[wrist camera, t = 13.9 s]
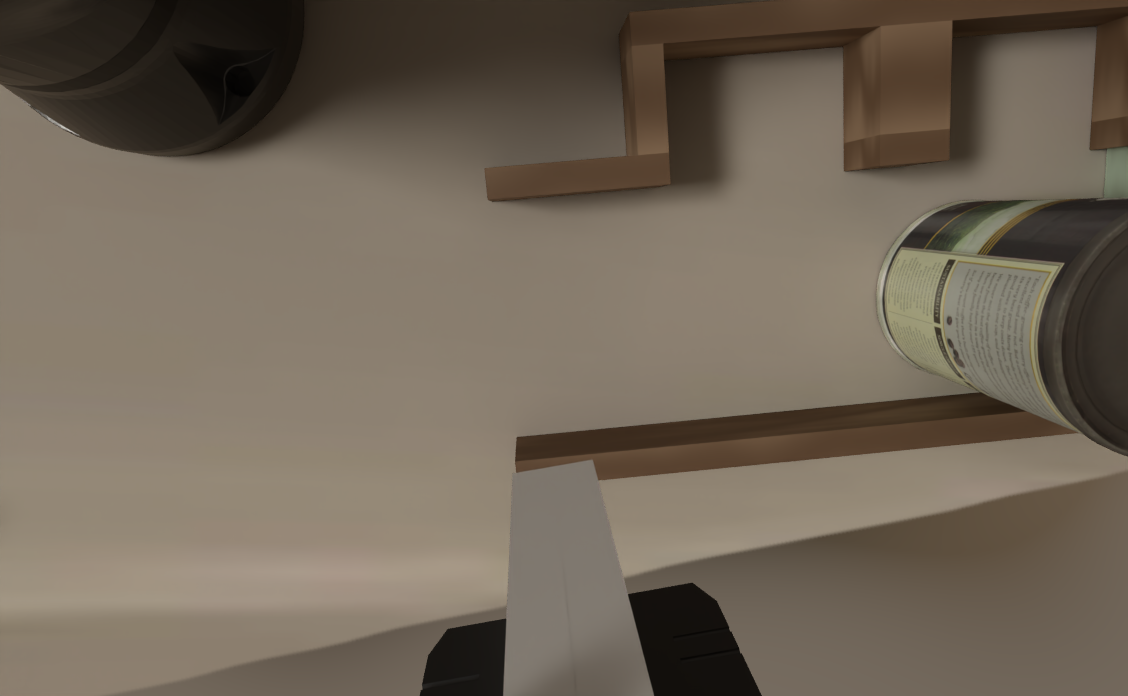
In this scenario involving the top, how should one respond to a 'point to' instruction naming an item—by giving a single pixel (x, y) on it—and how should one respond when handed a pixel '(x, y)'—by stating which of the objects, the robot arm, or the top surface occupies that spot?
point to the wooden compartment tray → (871, 140)
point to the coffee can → (1019, 306)
